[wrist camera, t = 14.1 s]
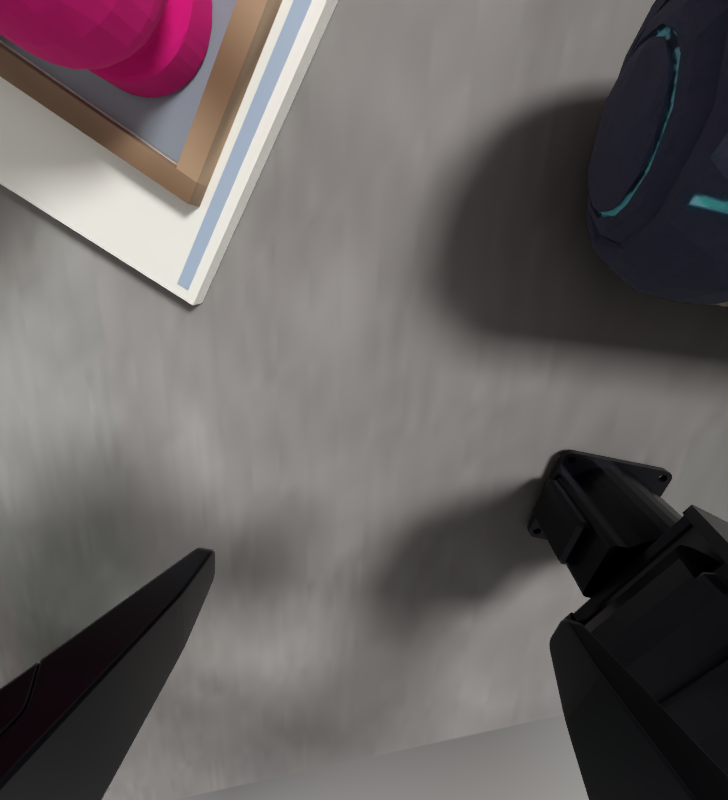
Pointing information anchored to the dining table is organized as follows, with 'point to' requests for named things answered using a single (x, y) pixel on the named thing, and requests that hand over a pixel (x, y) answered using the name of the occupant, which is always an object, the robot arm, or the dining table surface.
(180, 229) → the picture frame
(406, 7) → the dining table surface
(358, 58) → the dining table surface
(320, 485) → the dining table surface
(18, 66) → the walnut socket
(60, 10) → the pepper mill
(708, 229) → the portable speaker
